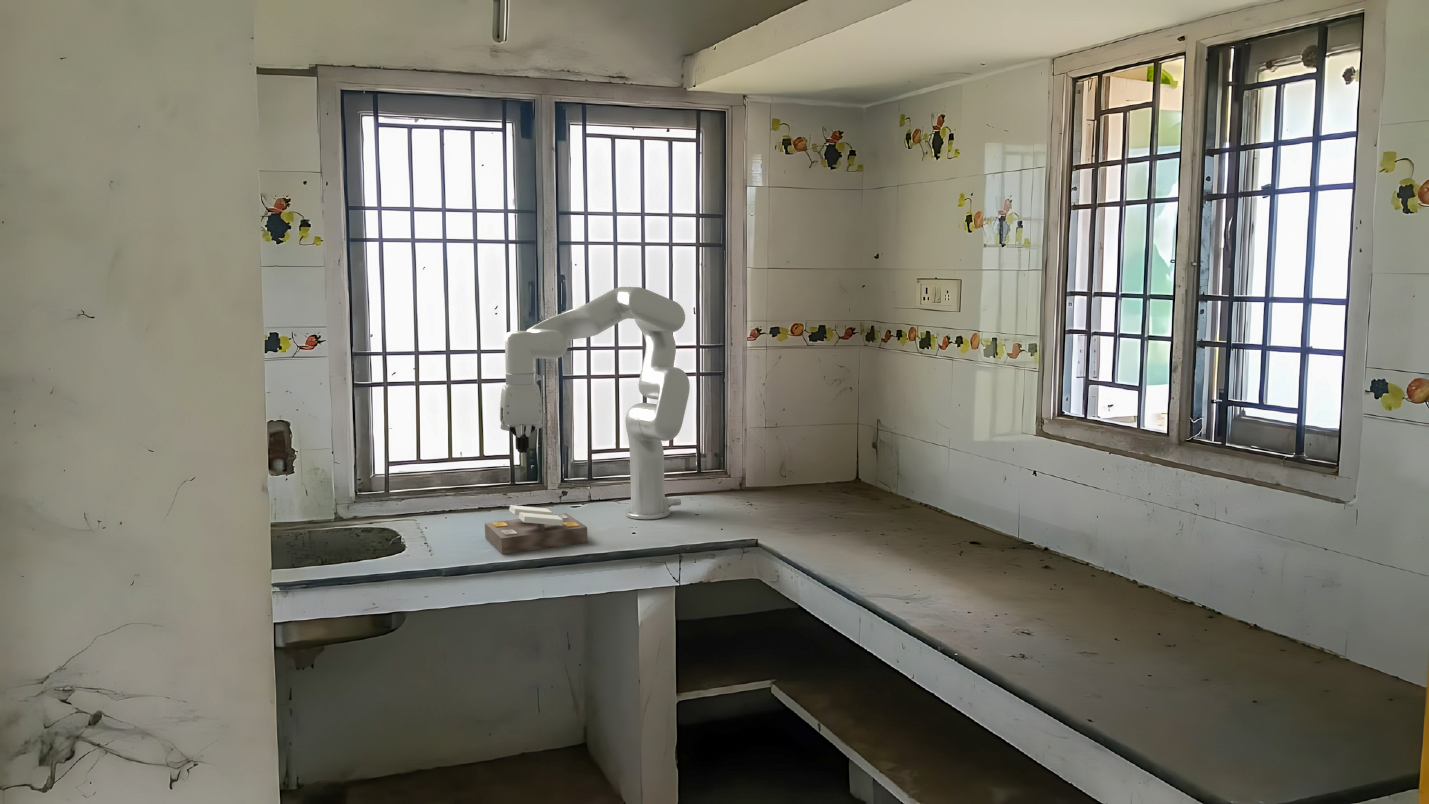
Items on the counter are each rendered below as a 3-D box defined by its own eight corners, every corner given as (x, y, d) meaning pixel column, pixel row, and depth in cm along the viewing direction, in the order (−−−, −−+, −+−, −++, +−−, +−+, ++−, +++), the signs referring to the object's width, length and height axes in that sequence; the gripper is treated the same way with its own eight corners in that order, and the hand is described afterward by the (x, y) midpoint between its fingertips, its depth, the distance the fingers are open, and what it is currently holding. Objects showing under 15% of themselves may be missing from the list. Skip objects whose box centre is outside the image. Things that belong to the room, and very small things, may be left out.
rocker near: (556, 521, 266) (557, 515, 266) (562, 525, 262) (563, 519, 262) (518, 518, 262) (519, 512, 262) (524, 522, 257) (525, 516, 257)
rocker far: (546, 514, 274) (546, 508, 274) (551, 518, 270) (552, 512, 270) (509, 510, 270) (510, 505, 270) (514, 514, 265) (515, 508, 265)
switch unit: (566, 527, 279) (566, 507, 278) (587, 542, 264) (586, 521, 263) (485, 538, 269) (484, 517, 269) (502, 554, 254) (501, 532, 253)
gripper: (544, 377, 268) (546, 447, 271) (487, 380, 262) (489, 452, 264) (554, 380, 262) (555, 452, 264) (495, 382, 255) (497, 456, 257)
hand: (522, 451), depth 264 cm, fingers closed
